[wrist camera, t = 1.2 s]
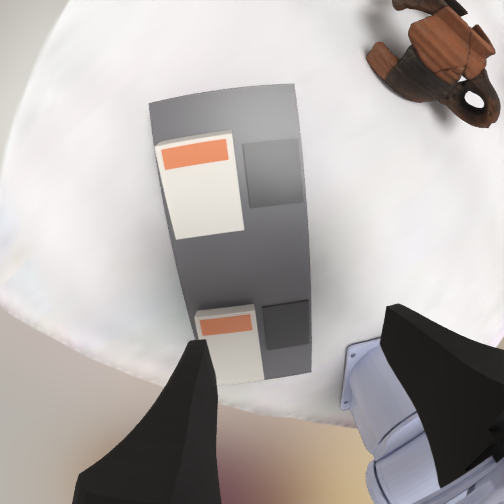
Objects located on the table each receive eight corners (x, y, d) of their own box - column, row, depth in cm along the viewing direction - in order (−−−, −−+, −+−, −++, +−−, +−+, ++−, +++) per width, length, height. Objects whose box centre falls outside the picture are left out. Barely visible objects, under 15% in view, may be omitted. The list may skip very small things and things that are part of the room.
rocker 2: (262, 369, 19) (264, 381, 17) (211, 375, 19) (209, 386, 17) (253, 302, 18) (255, 310, 17) (197, 309, 18) (194, 318, 17)
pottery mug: (328, 35, 16) (387, -42, 8) (383, 25, 18) (431, -25, 10) (439, 165, 16) (530, 121, 8) (466, 123, 19) (528, 89, 11)
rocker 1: (242, 218, 16) (244, 230, 15) (179, 227, 16) (175, 240, 15) (231, 129, 13) (232, 133, 12) (160, 141, 13) (154, 147, 12)
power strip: (303, 348, 24) (311, 373, 21) (211, 360, 24) (209, 387, 21) (284, 92, 17) (294, 82, 14) (161, 109, 16) (147, 102, 13)
